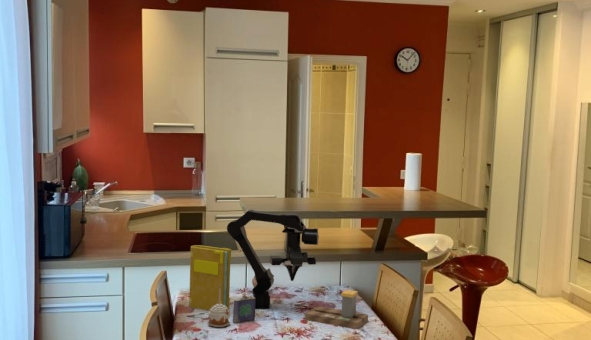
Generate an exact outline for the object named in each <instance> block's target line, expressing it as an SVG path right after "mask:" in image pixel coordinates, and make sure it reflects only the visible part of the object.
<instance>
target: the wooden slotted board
mask: <svg viewBox="0 0 591 340" xmlns="http://www.w3.org/2000/svg"><path fill="white" fill-rule="evenodd" d="M304 320H305V321H310V322H315V323H321V324H326V325H332V326H337V327H342V328H343V327H344V328H347V329H354V330H359V329H360V328H361V327H362V326H364V325H365V324H366V323H367V322H368V321H369V314H365V313H361V312H356V315H355V316H353V318H349V317H343V316H342V309H337V308H336V309H335V308H332V307H325V306H319V305H317V306H315V307H313V308H312V309H310V310H308V311H307V312H305V313H304Z"/></svg>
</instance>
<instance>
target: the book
mask: <svg viewBox="0 0 591 340" xmlns="http://www.w3.org/2000/svg"><path fill="white" fill-rule="evenodd" d="M189 261H190V265H189V266H190V268H189V296H188V297H189V298H188V301H189V302H188V303H189V304H188V307H189V308H192V309H197V310H202V311H206V312H207V311H208V312H210V309H211V308H212V307H213V306H215V305H216V304H219V286H221V300H220V304H222V305H225V306H226V307H227V308H228V311H230V306H231V303H230V300H231V298H230V287H231V286H230V282H231V281H230V280H231V261H232V248H227V247H217V246H207V245H201V244H199V245H198V244H197V245H196V244H194V245H191V246H190V259H189Z"/></svg>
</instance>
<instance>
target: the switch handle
mask: <svg viewBox="0 0 591 340" xmlns="http://www.w3.org/2000/svg"><path fill="white" fill-rule="evenodd" d="M358 293H359V292H358V291H356V290H349V289H346V290H344V291H342V292H341V294H340V296H341V298H342V300H341V302H342V303H341V310H342V316H343V317H349V318H353V316H355V315H356V313H357V296H358Z"/></svg>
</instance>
